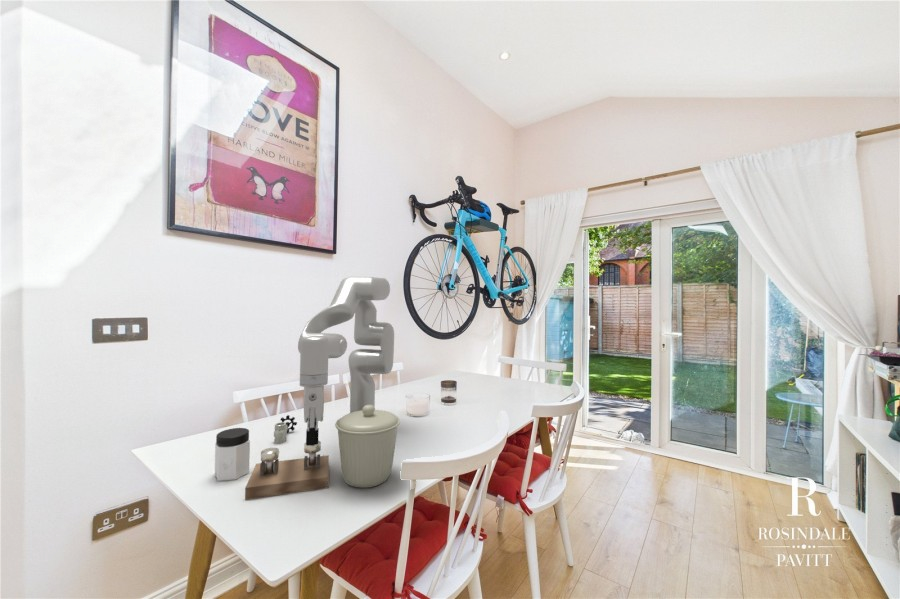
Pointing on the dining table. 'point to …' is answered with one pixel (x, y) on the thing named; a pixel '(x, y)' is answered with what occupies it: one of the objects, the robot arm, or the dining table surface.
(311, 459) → the knob
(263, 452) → the knob
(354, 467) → the canister
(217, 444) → the jar
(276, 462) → the mount board
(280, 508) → the dining table surface
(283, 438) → the valve
